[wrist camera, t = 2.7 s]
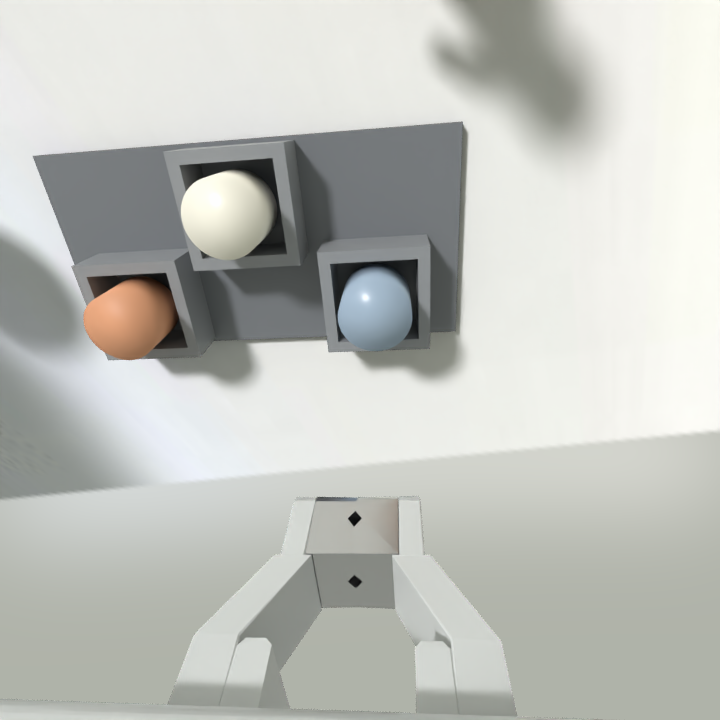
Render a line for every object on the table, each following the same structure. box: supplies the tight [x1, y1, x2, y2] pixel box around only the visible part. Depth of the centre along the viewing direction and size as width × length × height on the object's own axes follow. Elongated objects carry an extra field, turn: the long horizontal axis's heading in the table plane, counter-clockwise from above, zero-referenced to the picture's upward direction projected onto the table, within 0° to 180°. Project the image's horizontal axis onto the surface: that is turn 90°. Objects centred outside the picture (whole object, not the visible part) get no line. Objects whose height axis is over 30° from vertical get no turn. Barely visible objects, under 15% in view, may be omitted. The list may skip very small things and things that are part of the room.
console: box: [33, 122, 463, 360], centre depth 24 cm, size 22×11×3 cm, turn 94°
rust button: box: [84, 276, 179, 360], centre depth 24 cm, size 4×4×3 cm
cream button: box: [181, 169, 277, 260], centre depth 21 cm, size 4×4×3 cm
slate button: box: [338, 264, 412, 351], centre depth 23 cm, size 4×4×3 cm
